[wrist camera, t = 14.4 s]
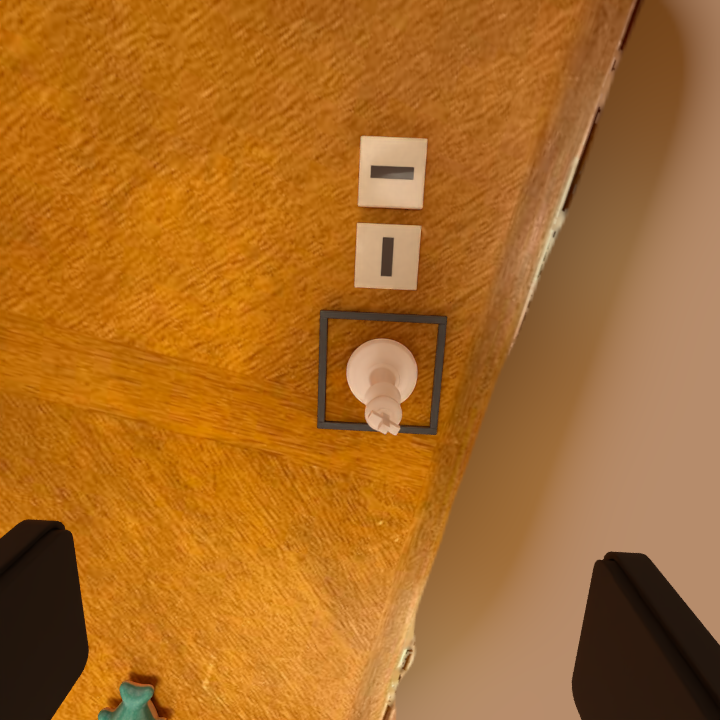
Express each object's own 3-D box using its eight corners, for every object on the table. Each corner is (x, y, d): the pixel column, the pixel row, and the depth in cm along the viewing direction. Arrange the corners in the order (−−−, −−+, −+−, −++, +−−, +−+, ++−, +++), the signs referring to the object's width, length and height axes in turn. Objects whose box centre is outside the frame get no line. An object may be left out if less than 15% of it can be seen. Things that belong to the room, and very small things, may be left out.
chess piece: (393, 418, 35) (399, 490, 25) (333, 383, 34) (316, 443, 25) (431, 361, 34) (453, 414, 24) (370, 324, 33) (367, 363, 23)
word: (324, 137, 30) (322, 133, 29) (462, 143, 30) (466, 139, 29) (317, 426, 35) (315, 434, 34) (435, 433, 35) (438, 440, 34)
